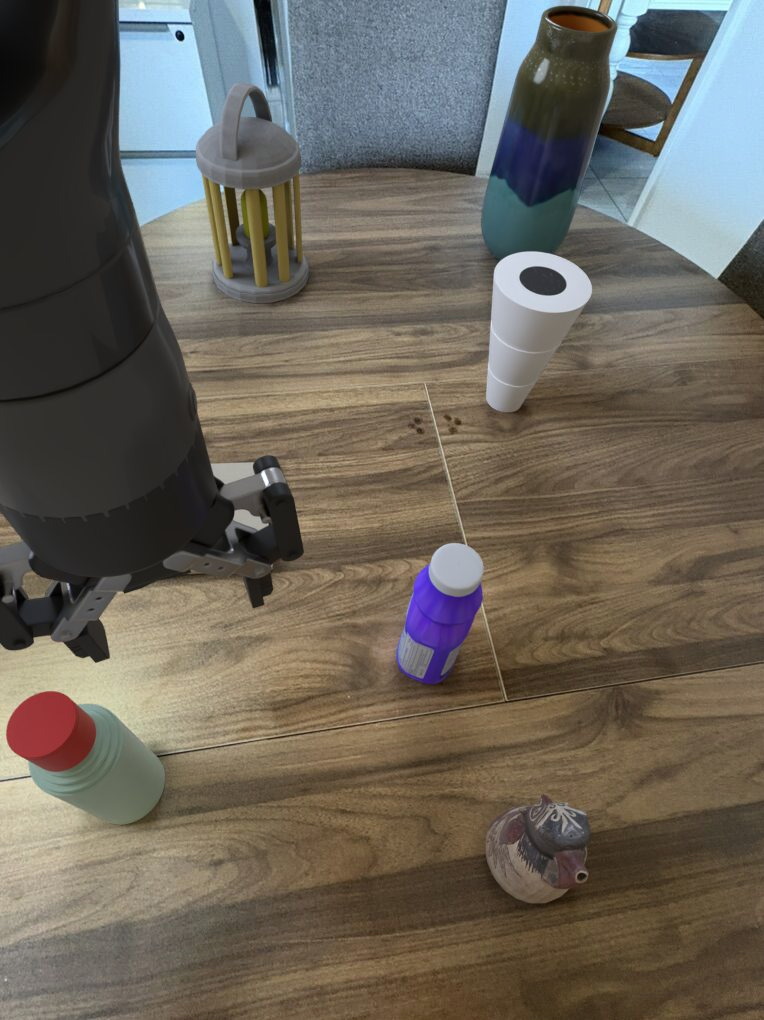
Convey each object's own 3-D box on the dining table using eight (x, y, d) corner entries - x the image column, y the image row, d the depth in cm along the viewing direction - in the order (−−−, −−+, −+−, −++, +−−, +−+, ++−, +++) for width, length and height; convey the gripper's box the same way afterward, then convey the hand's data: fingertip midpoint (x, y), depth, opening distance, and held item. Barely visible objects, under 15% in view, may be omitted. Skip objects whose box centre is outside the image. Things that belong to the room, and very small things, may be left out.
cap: (24, 774, 38) (-3, 761, 35) (38, 711, 40) (13, 693, 37) (90, 769, 39) (69, 755, 35) (100, 707, 41) (81, 688, 38)
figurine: (563, 808, 53) (616, 781, 43) (574, 906, 49) (636, 900, 39) (481, 804, 53) (516, 776, 43) (486, 902, 49) (526, 895, 39)
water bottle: (85, 828, 50) (-23, 784, 35) (97, 751, 53) (3, 680, 38) (161, 821, 51) (88, 774, 35) (168, 745, 54) (104, 673, 39)
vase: (521, 289, 95) (592, 50, 69) (456, 246, 100) (500, 10, 74) (575, 257, 101) (659, 26, 75) (511, 218, 106) (569, -10, 80)
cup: (506, 360, 85) (543, 241, 70) (560, 408, 81) (612, 291, 66) (447, 390, 81) (473, 270, 66) (501, 441, 77) (542, 325, 62)
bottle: (412, 610, 63) (436, 516, 49) (464, 630, 62) (505, 541, 48) (386, 674, 59) (405, 592, 45) (442, 697, 58) (479, 620, 44)
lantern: (238, 237, 97) (214, 51, 77) (322, 259, 96) (320, 75, 75) (196, 288, 89) (155, 96, 69) (286, 313, 88) (272, 124, 67)
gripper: (254, 313, 25) (280, 528, 38) (-151, 397, 21) (36, 604, 34) (316, 447, 21) (322, 633, 35) (-161, 579, 17) (53, 731, 31)
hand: (179, 618), depth 34 cm, fingers open, 8 cm apart
